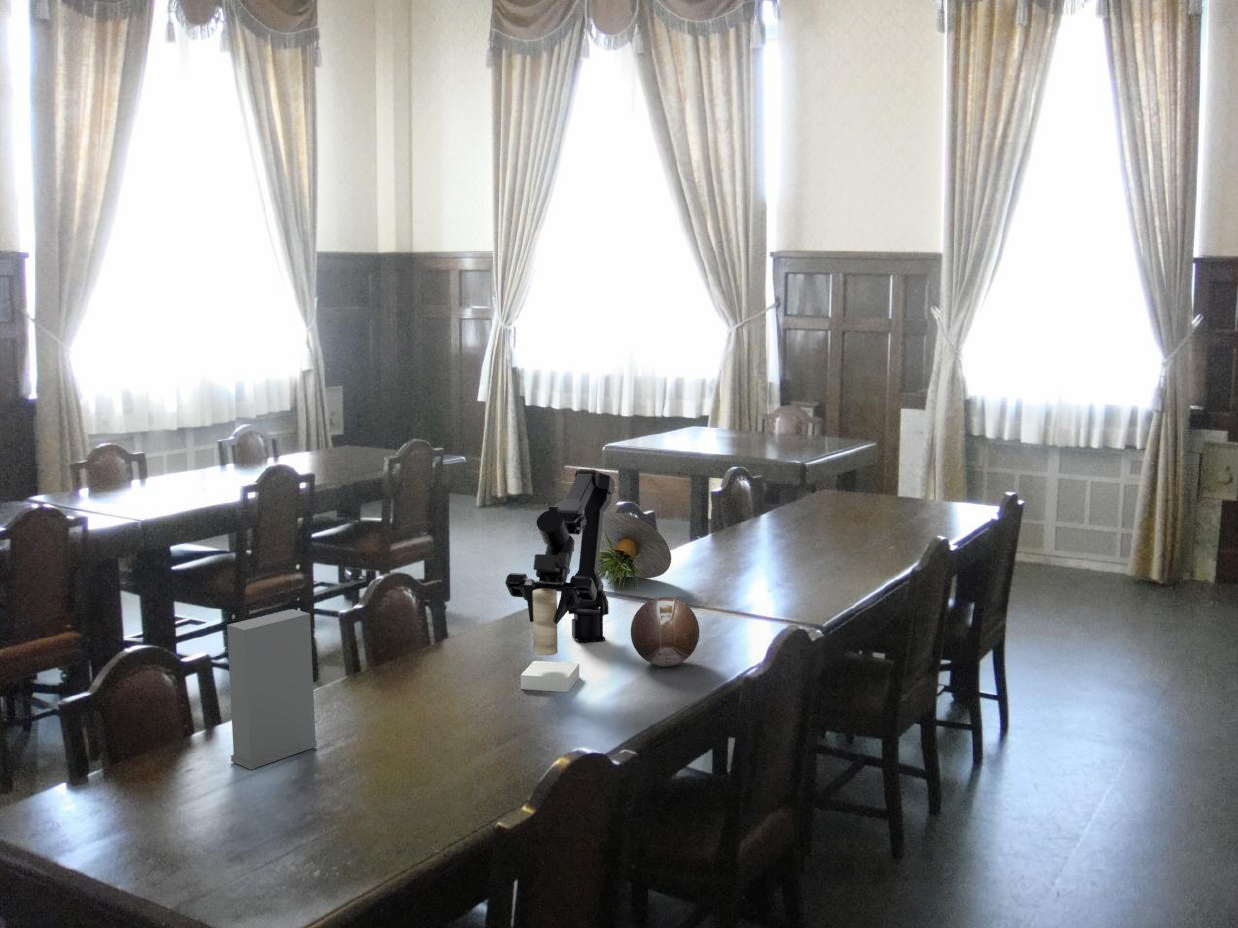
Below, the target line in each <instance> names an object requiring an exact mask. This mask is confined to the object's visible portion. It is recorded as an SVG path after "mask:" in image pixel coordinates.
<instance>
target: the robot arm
mask: <svg viewBox="0 0 1238 928" xmlns="http://www.w3.org/2000/svg"><path fill="white" fill-rule="evenodd" d="M615 484H616V483H615V480H614V479H613V477H612V476H611V475H609V474H606V473H603V472H600V470H596V468H595V469H591V468H590V469H588V468H580V469H576V471H575V474H574V480H573V482H572V484H571V486H570V488H569V489H568V491H567V494H566V496H565V498H564V499H563V500H562V501H560V502H557V503H556V504H555V505H554V506H548V510H546V511H544V512H543V513H541V514H540V515H539V516H538V517H537V518H536V527H537V529H538V531H539V534H540V536H541V539H542V541H543V543H544V544H545V545H546V549H545V553H544V554H541V553H540V554H539V553H536V554H534V560H533V570H534V571H536V572H535V576H536V578H539V579H538V580H534V579H533V578H529V577H528V575H527V574H526V573H516V572H510V573H509V574H508V575H507V576H506V577H505V578H506V579H505V586H506V588H507V590H508V593H509V594H510V596H512V598H513V597H514V598H523V599H524V601H526V603H527V611H528V616H529V617H528V618H529V622H530V623H533V591H534V590H536V589H545V588H546V589H554V590H556V591H557V593H558V592H559V593H560V598H559V602H558V603H557V611H556V615H555V621H554V622H555V624H557V625H558V624H559V622H560V621H561V620H562V619H563V617H564V616H565V615H566V614H567V613H568V615H573V618H572V619H571V637H572V638H574V639H575V640H576V641H577V642H578V643H590V642H600V641H602V642H603V641H606V637H605V636H604V629H603V628H604V616H605V615H609V614H610V613H609V612H610V611H609V609H610V606H609V600H608V598H607V595H606V592H605V590H604V583H603V580H602V578H601V576H600V577H599V575H600V573H598V571H599V569H598V567H599V566H600V565H599V564H600V560H599V555H600V544H601V534H602V523H603V514H605V511H606V510H607V509H608V507H609V506H610V505H611V503H612V500H613V499H612V498H613V497H612V496H613V495H615V494H614V493H615V489H616V485H615ZM580 534H581V542H580V552H579V561H578V563H579V564H578V570H577V571H576V572H575V574H574V575H572V576H571V578H570V580H569V581H570V582H567V579H568V576H569V574H570V573H571V572H570V571H571V568H570V567H571V561H572V556H573V552H574V551H575V543H576V542H575V539H574V537H572V535H573V536H574V535H579V536H580Z"/></svg>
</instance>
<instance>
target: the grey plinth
mask: <svg viewBox="0 0 1238 928" xmlns="http://www.w3.org/2000/svg"><path fill="white" fill-rule="evenodd" d="M579 678H580V663H577V662H576V663H575V662H564V661H563V662H559V661H545V660H544V661H541V660H533V661H532V662H531V663H530V664H529V666H527V667H526V669H525V670H524V671H523V672H522V673H521V674H520V689H521V690H529V691H545V692H559V693H560V692H562V693H569V691H570V690H571V688H572V687H574V685H575V684H576V682H578V680H579Z"/></svg>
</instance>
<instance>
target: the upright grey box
mask: <svg viewBox="0 0 1238 928" xmlns="http://www.w3.org/2000/svg"><path fill="white" fill-rule="evenodd" d="M226 632H227V633H226V634H227V650H228V651H227V653H228V669H229V670H228V672H229V691H230V710H231V730H232V750H233V751H232V752H233V754H231V755H230V760H231V762H232V763H233V764H236V765H239V766H241V767H244V768H247V769H249V771H254V770H255V769H256V768H259V767H262V766H265V765H268V764H270V763H273V762H276V761H279V760H282V759H285V758H288V757H290V756H293V755H296V754H299V753H302V752H304V751H308V750H313V749H314V748H316V747H317V745H318V744H317V743H318V742H317V740H316V721H315V720H316V719H315V700H314V699H315V698H314V695H315V694H314V676H313V674H314V673H313V672H314V671H313V654H312V653H313V651H312V628H311V613H309V612H305V611H302V610H297V609H294V608H292V609H291V608H290V609H287V610H282V611H278V612H274V613H271V614H270V613H269V614H265V615H262V616H258V617H255V618H250V619H246V620H242V621H238V622H233V623H229V624H226Z"/></svg>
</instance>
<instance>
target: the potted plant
mask: <svg viewBox="0 0 1238 928" xmlns="http://www.w3.org/2000/svg"><path fill="white" fill-rule="evenodd" d="M600 560H602V562H599V566H598V574H599V577H600V578H601V576H604V574H606V573H607V571H608V573H607V575H606V577H605V580H608V579H609V576H611V578H610V579H609V581H608V582H607V585H609V584H610V585H611V586H613V590H614V592H617V591H616V581H617V577H618V576H619V582H618V583H619V584H618V590H620V589H621V585H622V584H623V586H622V589H625V586H626V579H627V575H628V576H630V577H631V578H633V579H634V580H635V583H636V585H637V587H636V590H637V591H638V589H639V586H640V585H639V581H638V579H637V578H640V579H645V580H647V579H654V578H657V577H661V576H662V575H663V574H665V573H666V572H668V570H669V568H670V567H671V564H672V553H671V551H670V548H669V545H668V543H667V542H666V540H665V538H664V537H663V536H662V535H661V533H659V532H658V530H656V529H655V527H653V526H651V524H649V523H647V522H645V521H644V520H642V519H641V518H638V517H635V516H633V515H631V514H626V513H623V512H604V513H603V523H602V534H601V544H600V555H599V561H600ZM600 568H601V570H599V569H600ZM622 581H623V583H622Z"/></svg>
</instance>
